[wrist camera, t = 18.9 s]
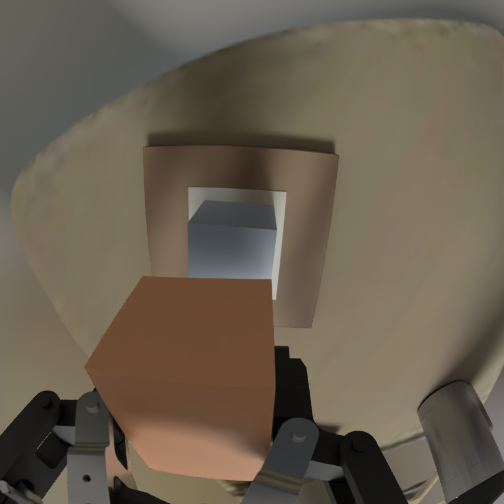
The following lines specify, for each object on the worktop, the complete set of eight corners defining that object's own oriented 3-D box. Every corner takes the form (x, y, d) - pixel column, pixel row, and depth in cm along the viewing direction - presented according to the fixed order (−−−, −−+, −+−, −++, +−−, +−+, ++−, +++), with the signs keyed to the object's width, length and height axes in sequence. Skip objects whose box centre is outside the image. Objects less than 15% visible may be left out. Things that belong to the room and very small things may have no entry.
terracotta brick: (271, 279, 11) (275, 387, 6) (267, 395, 14) (266, 481, 9) (142, 276, 11) (84, 367, 6) (172, 389, 14) (150, 468, 9)
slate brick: (274, 205, 21) (277, 230, 16) (264, 289, 24) (264, 329, 19) (204, 200, 21) (187, 222, 16) (203, 283, 24) (190, 321, 19)
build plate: (334, 153, 20) (339, 155, 19) (309, 320, 26) (311, 328, 25) (149, 145, 20) (142, 147, 19) (161, 309, 26) (157, 317, 25)
